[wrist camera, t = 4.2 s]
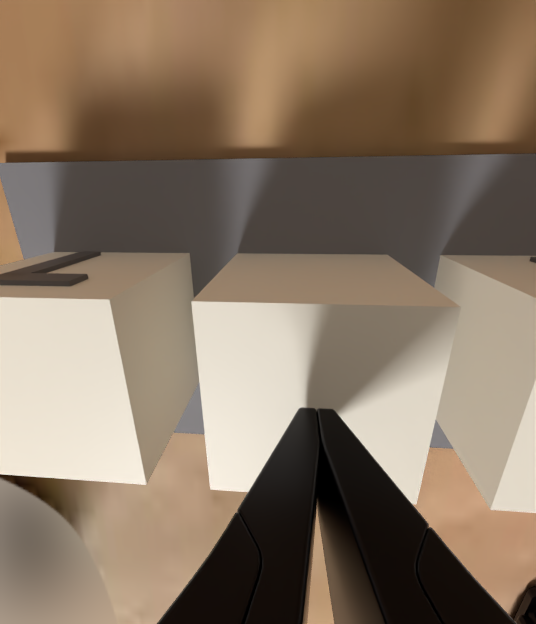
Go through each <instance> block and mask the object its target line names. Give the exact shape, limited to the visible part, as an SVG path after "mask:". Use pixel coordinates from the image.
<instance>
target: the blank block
mask: <svg viewBox="0 0 536 624" xmlns="http://www.w3.org/2000/svg"><path fill="white" fill-rule="evenodd" d="M191 304H192V314H193V324H194V334H195V343H196V353H197V363H198V373H199V383H200V393H201V403H202V412H203V422H204V432H205V442H206V452H207V462H208V471H209V481H210V489H212V490H226V491H240V492H249V490H250V488H251V487H252V485H253V483H254V482H255V480H256V478H257V477H258V475H259V473H260V472H261V470H262V468H263V467H264V465H265V464H266V462H267V460H268V459H269V457H270V455H271V454H272V452H273V450H274V449H275V447H276V445H277V444H278V442H279V440H280V439H281V437H282V435H283V434H284V432H285V430H286V429H287V427H288V425H289V424H290V422H291V421H292V419H293V417H294V416H295V414H296V412H297V411H298V409H299V408H301V407H306V408H315V409H316V411H317V409H318V408H327V409H333V410H335V411H336V413H337V414H338V415H339V416H340V417H341V419H342V420H343V421H344V422H345V423H346V425H347V426H348V427H349V428H350V429H351V431H352V432H353V433H354V434H355V436H356V437H357V438H358V439H359V440H360V442H361V443H362V444H363V445H364V446H365V448H366V449H367V450H368V451H369V453H370V454H371V455H372V456H373V457H374V459H375V460H376V461H377V462H378V463H379V465H380V466H381V467H382V468H383V469H384V471H385V472H386V473H387V474H388V476H389V477H390V478H391V479H392V480H393V482H394V483H395V484H396V485H397V486H398V488H399V489H400V490H401V491H402V492H403V494H404V495H405V496H406V497H407V499H408V500H409V501H410V502H411V503H412V504H417V500H418V495H419V491H420V486H421V482H422V478H423V473H424V469H425V464H426V460H427V455H428V451H429V447H430V442H431V438H432V433H433V429H434V424H435V420H436V416H437V411H438V407H439V402H440V398H441V393H442V389H443V385H444V380H445V376H446V371H447V367H448V362H449V358H450V354H451V349H452V345H453V340H454V336H455V331H456V327H457V323H458V318H459V314H460V309H461V307H460V306H459V305H457V304H456V303H455V302H453V301H452V300H450V299H449V298H448V297H446V296H445V295H443V294H442V293H441V292H439V291H438V290H436V289H435V288H434V287H432V286H431V285H429V284H428V283H427V282H425V281H424V280H422V279H421V278H420V277H418V276H417V275H415V274H414V273H413V272H411V271H410V270H408V269H407V268H406V267H404V266H403V265H401V264H400V263H399V262H397V261H396V260H394V259H393V258H392V257H390V256H389V255H371V254H246V253H237V254H236V255H235V256H234V257H233V258H232V259H231V260H230V261H229V262H228V263H227V265H226V266H225V267H224V268H223V269H222V270H221V271H220V272H219V273H218V274H217V275H216V276H215V277H214V278H213V279H212V280H211V281H210V282H209V283H208V284H207V285H206V286H205V287H204V288H203V290H202V291H201V292H200V293H199V294H198V295H197V296H196V297H195V298H194V299H193V300H192V301H191Z"/></svg>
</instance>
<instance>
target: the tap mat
mask: <svg viewBox="0 0 536 624" xmlns="http://www.w3.org/2000/svg"><path fill="white" fill-rule="evenodd" d="M0 178H1V182H2V185H3V189H4V192H5V196H6V199H7V202H8V206H9V209H10V213H11V216H12V220H13V223H14V227H15V230H16V234H17V237H18V240H19V244H20V247H21V251H22V254H23V258H24V259H28V258H32V257H36V256H40V255H44V254H48V253H52V252H81V251H100V252H120V253H190V262H191V272H192V283H193V293H194V298H195V297H196V296H197V295H198V294H199V293H200V292H201V291H202V290H203V288H204V287H205V286H206V285H207V284H208V283H209V282H210V281H211V280H212V279H213V278H214V277H215V276H216V275H217V274H218V273H219V272H220V271H221V270H222V269H223V268H224V267H225V266H226V265H227V263H228V262H229V261H230V260H231V259H232V258H233V257H234V256H235V255H236V254H237V253H246V254H371V255H389V256H390V257H392V258H393V259H394V260H396V261H397V262H399V263H400V264H401V265H403V266H404V267H406V268H407V269H408V270H410V271H411V272H413V273H414V274H415V275H417V276H418V277H420V278H421V279H422V280H424V281H425V282H427V283H428V284H429V285H431V286H432V287H435V281H436V276H437V271H438V265H439V260H440V255H497V256H536V154H480V155H424V156H368V157H311V158H255V159H199V160H142V161H86V162H30V163H0ZM174 433H191V434H205V432H204V422H203V412H202V403H201V393H200V383H198V385H197V387H196V389H195V391H194V393H193V395H192V397H191V399H190V401H189V403H188V405H187V407H186V409H185V411H184V413H183V415H182V416H181V418H180V420H179V422H178V424H177V426H176V428H175V430H174ZM430 447H434V448H452V449H453V447H452V445H451V444H450V442H449V440H448V439H447V437H446V435H445V434H444V432H443V430H442V429H441V427H440V425H439V424H438V422H437V420H435V424H434V429H433V433H432V438H431V442H430Z"/></svg>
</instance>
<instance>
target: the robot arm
mask: <svg viewBox="0 0 536 624" xmlns="http://www.w3.org/2000/svg"><path fill="white" fill-rule="evenodd" d="M316 507H317V508H318V516H319V523H320V530H321V537H322V544H323V550H324V557H325V564H326V570H327V577H328V584H329V591H330V597H331V604H332V611H333V617H334V624H536V587H533V588H530V589H529V590H528V591H527V592H526V595H525V597H524V599H523V601H522V603H521V605H520V607H519V610H518V612H517V614H516V616H515V618H514V620H513V619H512V618H511V617H510V616H509V615H508V613H507V612H506V611H505V610H504V609H503V608H502V607H501V606H500V605H499V604H498V603H497V602H496V601H495V599H494V598H493V597H492V596H491V595H490V594H489V593H488V592H487V591H486V590H485V589H484V588H483V587H482V586H481V584H480V583H479V582H478V581H477V580H476V579H475V578H474V577H473V576H472V575H471V573H470V572H469V571H468V570H467V569H466V568H465V566H464V565H463V564H462V563H461V562H460V561H459V559H458V558H457V557H456V556H455V555H454V554H453V553H452V551H451V550H450V549H449V548H448V547H447V546H446V544H445V543H444V542H443V541H442V539H441V538H440V537H439V536H438V535H437V533H436V532H435V531H434V530H433V529H432V528H431V527H429V525H428V523H427V522H426V520H425V519H424V518H423V517H422V515H421V514H420V513H419V512H418V511H417V509H416V508H415V507H414V506H413V505H412V503H411V502H410V501H409V500H408V499H407V497H406V496H405V495H404V494H403V492H402V491H401V490H400V489H399V488H398V486H397V485H396V484H395V483H394V482H393V480H392V479H391V478H390V477H389V476H388V474H387V473H386V472H385V471H384V469H383V468H382V467H381V466H380V465H379V463H378V462H377V461H376V460H375V459H374V457H373V456H372V455H371V454H370V453H369V451H368V450H367V449H366V448H365V446H364V445H363V444H362V443H361V442H360V440H359V439H358V438H357V437H356V436H355V434H354V433H353V432H352V431H351V429H350V428H349V427H348V426H347V425H346V423H345V422H344V421H343V420H342V419H341V417H340V416H339V415H338V414H337V413H336V411H335V410H333V409H327V408H318V409H317V411H316V409H315V408H306V407H301V408H299V409H298V411H297V412H296V414H295V416H294V417H293V419H292V421H291V422H290V424H289V425H288V427H287V429H286V430H285V432H284V434H283V435H282V437H281V439H280V440H279V442H278V444H277V445H276V447H275V449H274V450H273V452H272V454H271V455H270V457H269V459H268V460H267V462H266V464H265V465H264V467H263V468H262V470H261V472H260V473H259V475H258V477H257V478H256V480H255V482H254V483H253V485H252V487H251V488H250V490H249V492H248V493H247V495H246V497H245V498H244V500H243V502H242V503H241V505H240V507H239V508H238V511H237V512H238V513H235V514H234V516H233V518H232V519H231V521H230V523H229V524H228V526H227V528H226V529H225V531H224V532H223V534H222V536H221V537H220V539H219V540H218V542H217V543H216V545H215V546H214V548H213V549H212V551H211V552H210V554H209V556H208V557H207V558H206V560H205V561H204V562H203V564H202V565H201V566H200V568H199V569H198V570H197V572H196V573H195V575H194V576H193V577H192V579H191V580H190V581H189V583H188V584H187V585H186V587H185V588H184V589H183V591H182V592H181V593H180V595H179V596H178V597H177V598H176V600H175V601H174V602H173V604H172V605H171V606H170V607H169V609H168V610H167V611H166V613H165V614H164V615H163V617H162V618H161V619H160V620H159V622H158V623H157V624H307V618H308V606H309V594H310V582H311V570H312V558H313V545H314V533H315V521H316ZM428 527H429V528H428Z"/></svg>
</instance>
